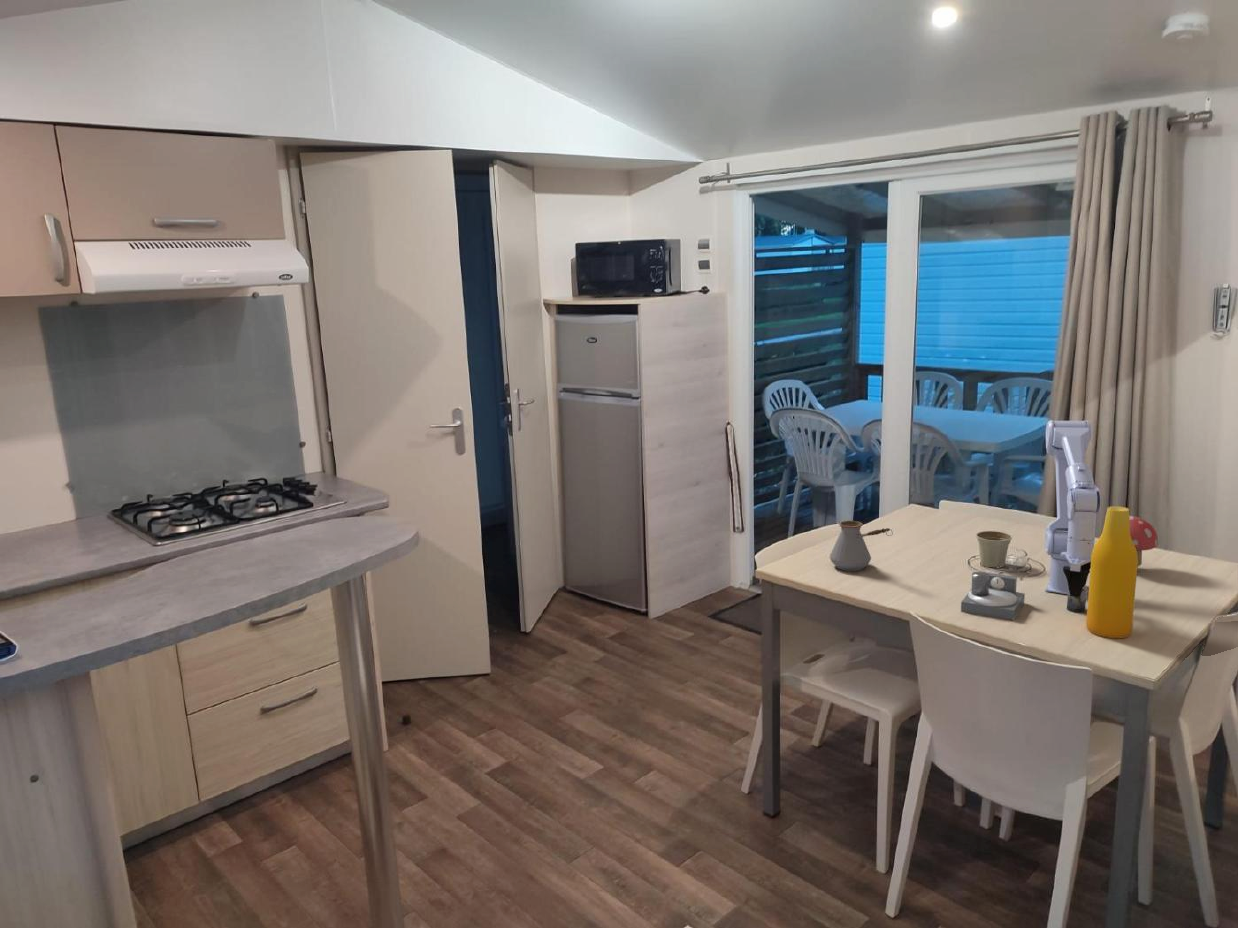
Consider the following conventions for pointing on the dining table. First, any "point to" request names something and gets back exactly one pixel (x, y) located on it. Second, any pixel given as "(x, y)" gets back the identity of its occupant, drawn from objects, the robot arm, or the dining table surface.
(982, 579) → the ball
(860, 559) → the coffee pot
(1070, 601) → the cylinder
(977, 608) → the dial scale
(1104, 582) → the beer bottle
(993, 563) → the flower pot
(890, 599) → the dining table surface
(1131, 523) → the decorative mushroom
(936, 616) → the dining table surface
